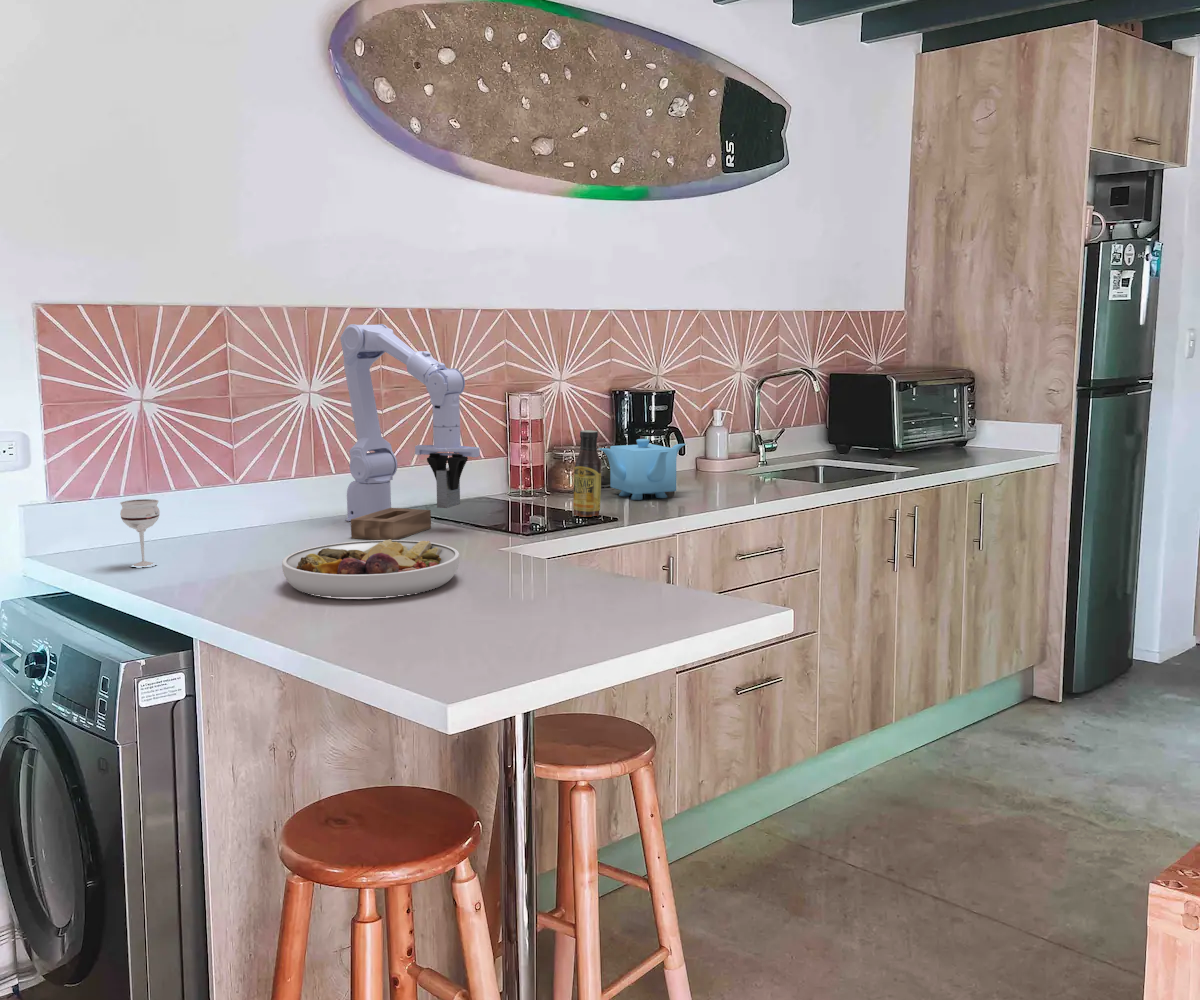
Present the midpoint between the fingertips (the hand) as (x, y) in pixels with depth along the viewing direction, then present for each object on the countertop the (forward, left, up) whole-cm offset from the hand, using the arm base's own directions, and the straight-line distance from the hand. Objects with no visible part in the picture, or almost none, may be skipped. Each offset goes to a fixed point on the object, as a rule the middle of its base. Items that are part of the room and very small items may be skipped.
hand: (448, 489), depth 248 cm
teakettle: (+25, +59, -9) cm, 65 cm away
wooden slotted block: (-10, -7, -9) cm, 15 cm away
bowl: (+11, -49, -10) cm, 51 cm away
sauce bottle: (+22, +26, -9) cm, 35 cm away
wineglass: (-37, -51, -9) cm, 64 cm away
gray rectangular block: (0, 0, -4) cm, 4 cm away
